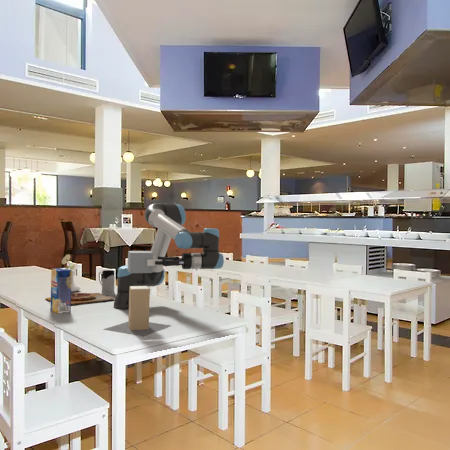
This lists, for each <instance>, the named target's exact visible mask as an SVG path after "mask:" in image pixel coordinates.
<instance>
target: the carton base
mask: <svg viewBox="0 0 450 450" xmlns="http://www.w3.org/2000/svg"><path fill="white" fill-rule="evenodd" d="M150 293H151V289H150V288H149V286H148V287H147V286H130V287H129V309H128V321H127V322H128V326H129V329H130V330H144V329H149V322H150V296H151V294H150Z"/></svg>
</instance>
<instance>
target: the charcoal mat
mask: <svg viewBox="0 0 450 450" xmlns="http://www.w3.org/2000/svg"><path fill="white" fill-rule="evenodd" d="M170 327H172V325H170V324H162V323H158V322H157V323H156V322H150V321H149V329H144V330H130V329H129V326H128V321H125V322H121V323H119V324H115V325H112V326H109V327H106V328H103V329H102V330H103V331H110V332H116V333H121V334H127V335H132V336H137V337H138V336H139V337H147V336H149V335H151V334H154V333H157V332H159V331H161V330H165V329H168V328H170Z"/></svg>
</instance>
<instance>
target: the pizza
mask: <svg viewBox="0 0 450 450" xmlns="http://www.w3.org/2000/svg"><path fill="white" fill-rule="evenodd" d="M115 298H116V297H112V296H110V295H102V294H101V292H94V293H93V292H92V293H91V292H71V306H81V305H82V306H84V305H85V306H86V305H90V304H91V305H93V304H101V303H105V302H108V301H113V300H114V301H115ZM45 300H46V301H48V302H49V303H51V297H45Z"/></svg>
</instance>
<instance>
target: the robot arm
mask: <svg viewBox="0 0 450 450" xmlns="http://www.w3.org/2000/svg"><path fill="white" fill-rule="evenodd" d="M143 215H144V220H145V222H146V223H148V225H149V226H151V227H153V228H157V232H156V234H155V237H154V240H153V243H152V246H151V249H150V251H151V252H152V253H153V260H147V266H153V273H129V272H128V264H126V265H122V266H120V267H118V269H117V275H116V276H117V287H116V288H117V289H116V290H117V291H116V292H117V293H116V296H115V297H114V298H115V299H114V301H113V308H114V309H119V310H129V287H130V286H147V287H148V288H149V287H156V286H160V285H161V284H162V283H163V282H164V280H165V269H164V267H179V266H181V268H182V269H183V270H195V271H198V270H217V269H218V270H219V269H222V268H223V266H224V262H225V259H224V255H223V253H222V252H220V250H219V249H220V246H219V245H220V230H219V228H213V227H209V228H208V227H205V228H203V231H198V232H197V231H191V230H189V229H187V228H186V227H185V226H183V225H184V224H185V222H186V219H187V217H186V209H184V206H182V204H179V203H165V202H164V203H163V202H154V203H152V204H149V205H148V206H147V207H146V209H145V211H144V214H143ZM172 239H173V240H174V243H175V245H176V247H177V248H178V249H184V250H188V249H189V250H190V249H202V252H192V253H190V252H184V253H182V254H181V258H180V256H166V254H167V251H168V249H169V246H170V243H171V240H172Z"/></svg>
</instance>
